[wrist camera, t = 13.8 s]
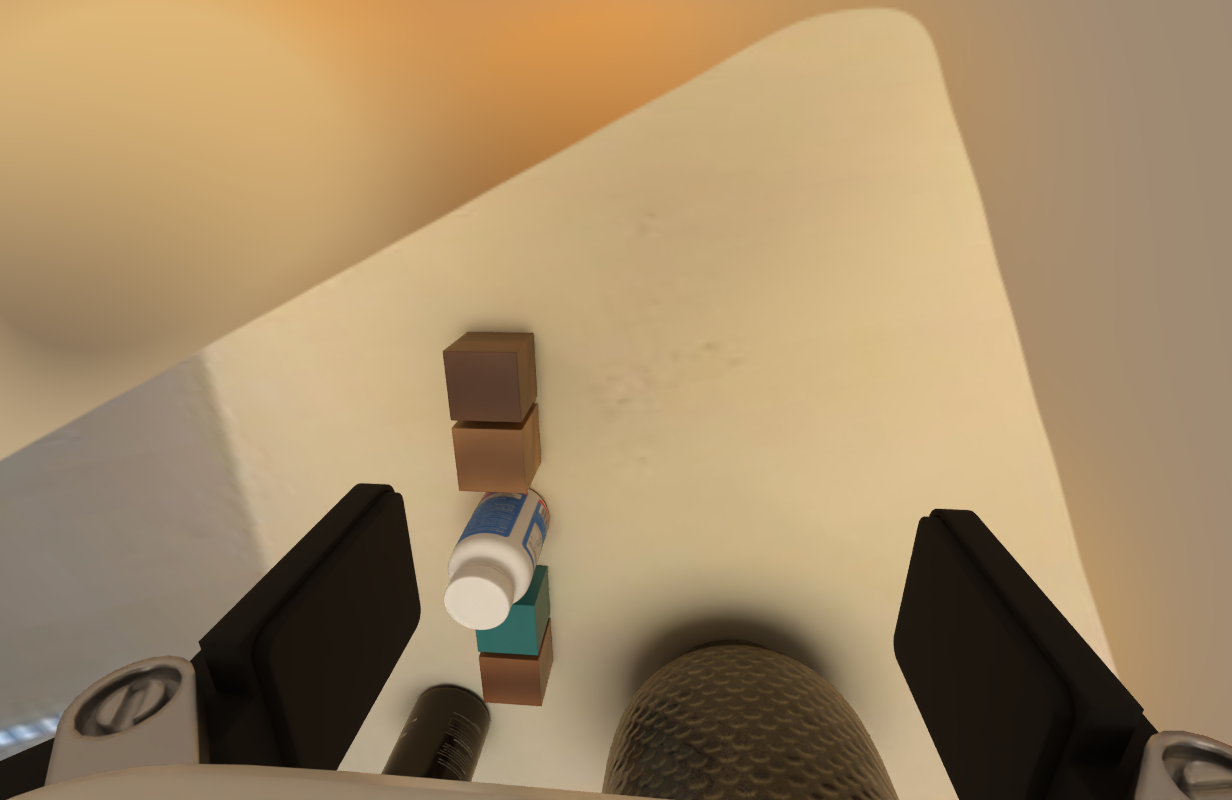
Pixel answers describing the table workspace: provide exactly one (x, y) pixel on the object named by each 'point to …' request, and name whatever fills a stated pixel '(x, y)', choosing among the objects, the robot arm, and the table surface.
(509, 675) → the block
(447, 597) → the pill bottle
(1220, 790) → the robot arm
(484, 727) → the supplement bottle
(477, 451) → the block
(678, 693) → the planter
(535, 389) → the block
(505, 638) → the block
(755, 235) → the table surface
